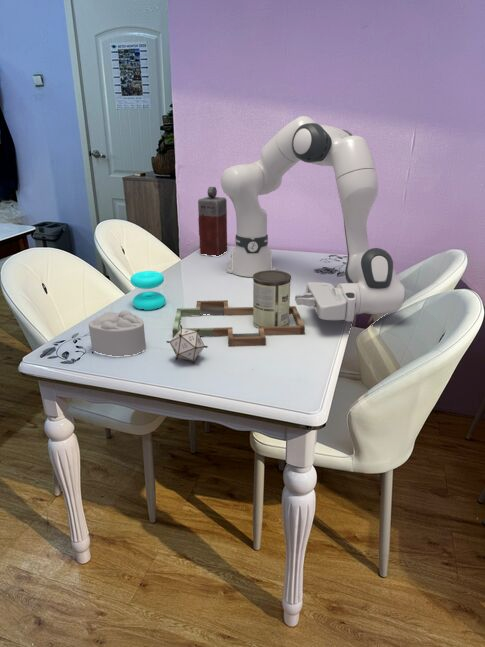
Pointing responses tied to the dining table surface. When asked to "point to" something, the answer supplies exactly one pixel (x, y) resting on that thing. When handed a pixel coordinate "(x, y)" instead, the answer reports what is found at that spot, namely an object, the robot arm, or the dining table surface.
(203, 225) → the red grey square bottle
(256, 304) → the coffee can
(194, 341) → the game die
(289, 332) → the brown wooden frame
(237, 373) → the dining table surface
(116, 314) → the lumpy-topped squat cylinder
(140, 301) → the donuts
